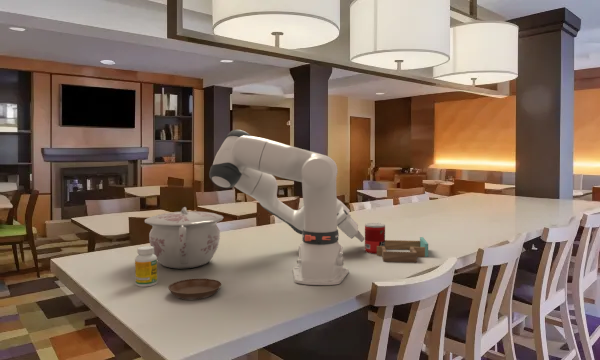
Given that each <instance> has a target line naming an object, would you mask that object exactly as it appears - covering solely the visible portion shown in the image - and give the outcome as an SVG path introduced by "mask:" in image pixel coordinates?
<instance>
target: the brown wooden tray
mask: <svg viewBox="0 0 600 360" xmlns="http://www.w3.org/2000/svg"><path fill="white" fill-rule="evenodd" d="M382 247H385V249H386V250H401V251H404V250H406V251H407V250H408V251H410V247H413V248H414V249H415V251H416V252H417V258H418V257H420V258H426V257H425V247H420V240H406V239H405V240H401V239H400V240H399V239H397V240H396V239H395V240H394V239H393V240H391V239H388V240H387V239H385V246H377V254H376V256H378V257H379V256H380V257H382Z"/></svg>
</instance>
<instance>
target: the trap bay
mask: <svg viewBox="0 0 600 360" xmlns="http://www.w3.org/2000/svg"><path fill="white" fill-rule="evenodd" d="M381 258H382V262H384V263H385V262H387V263H389V262H390V263H391V262H392V263H417V262H418V260H417V258H418V257H417V252H416V251H415V249H414V248H413V247H410V250H409V251H392V250H391V251H390V250H388V251H387V249H385V247H382V256H381Z"/></svg>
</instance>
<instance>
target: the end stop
mask: <svg viewBox="0 0 600 360" xmlns="http://www.w3.org/2000/svg"><path fill="white" fill-rule="evenodd" d="M419 241H420V247H425V257H424V258H429V243H428V241H427V240H426V239H425V238H424V236H420V237H419Z"/></svg>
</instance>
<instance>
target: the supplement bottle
mask: <svg viewBox="0 0 600 360" xmlns="http://www.w3.org/2000/svg"><path fill="white" fill-rule="evenodd" d="M136 252H137V254H138V255H136V257H135V258H134V266H135V267H134V268H135V269H134V270H135V285H136V286H137V287H140V288H146V287H152V286H155V285H156V284H157V283H158V260H157V257H156V255H154V254H153V253H154V247H152V246H151V245H150V246H149V245H145V246H140V247H137V251H136Z"/></svg>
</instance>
